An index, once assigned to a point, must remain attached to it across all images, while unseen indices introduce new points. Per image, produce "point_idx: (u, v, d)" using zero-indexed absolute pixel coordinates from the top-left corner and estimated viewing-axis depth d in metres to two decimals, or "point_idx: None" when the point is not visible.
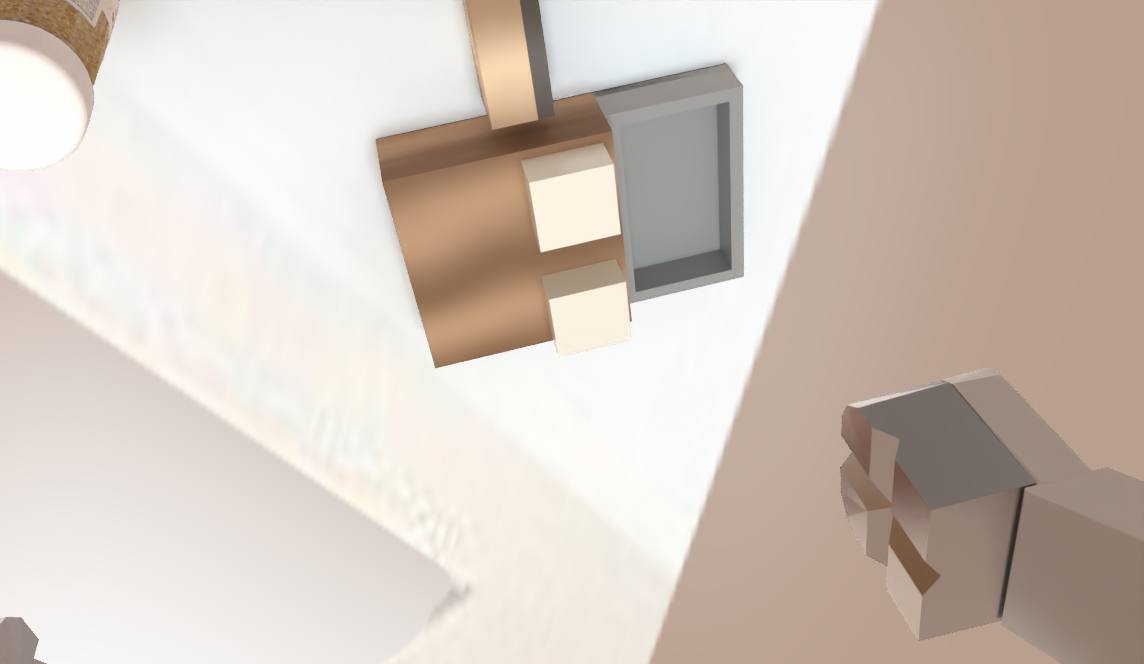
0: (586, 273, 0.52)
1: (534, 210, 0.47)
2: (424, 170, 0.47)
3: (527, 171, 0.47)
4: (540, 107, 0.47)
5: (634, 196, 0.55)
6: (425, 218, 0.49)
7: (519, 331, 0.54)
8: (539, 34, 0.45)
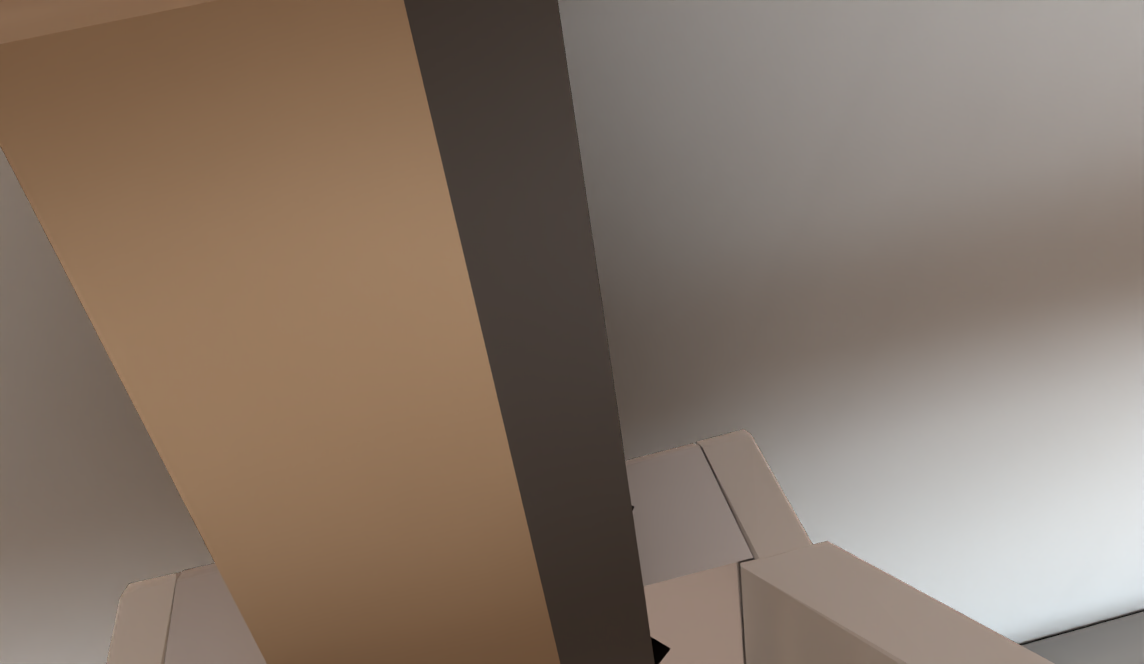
0: None
1: None
2: None
3: None
4: None
5: None
6: None
7: None
8: None
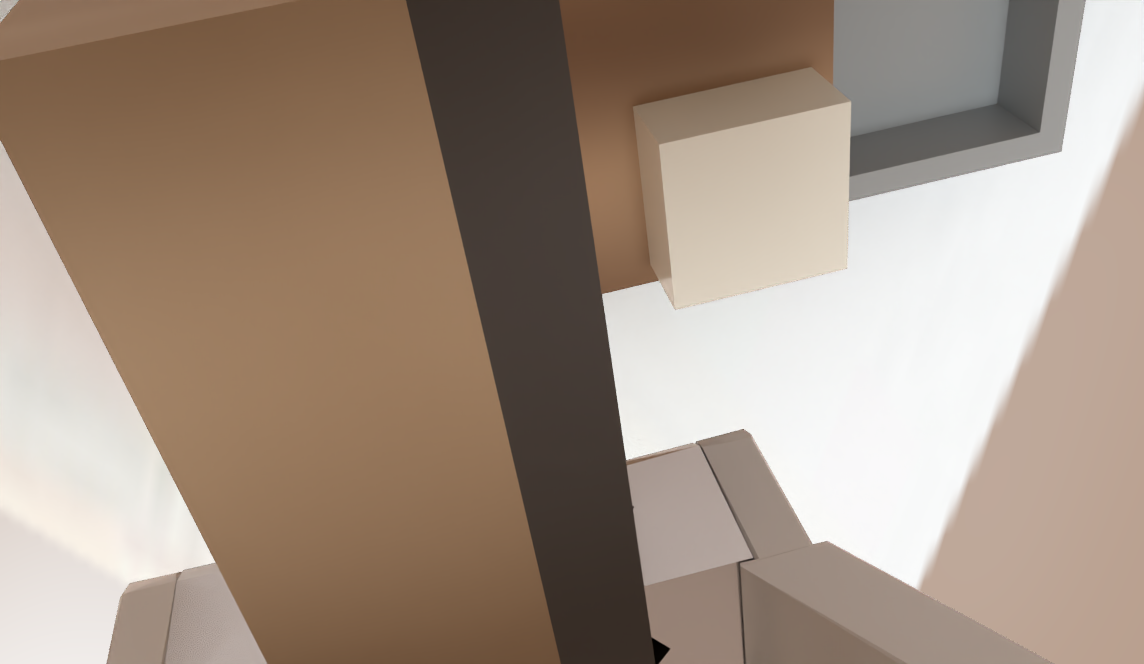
0: (745, 94, 0.21)
1: None
2: None
3: None
4: None
5: None
6: None
7: None
8: None
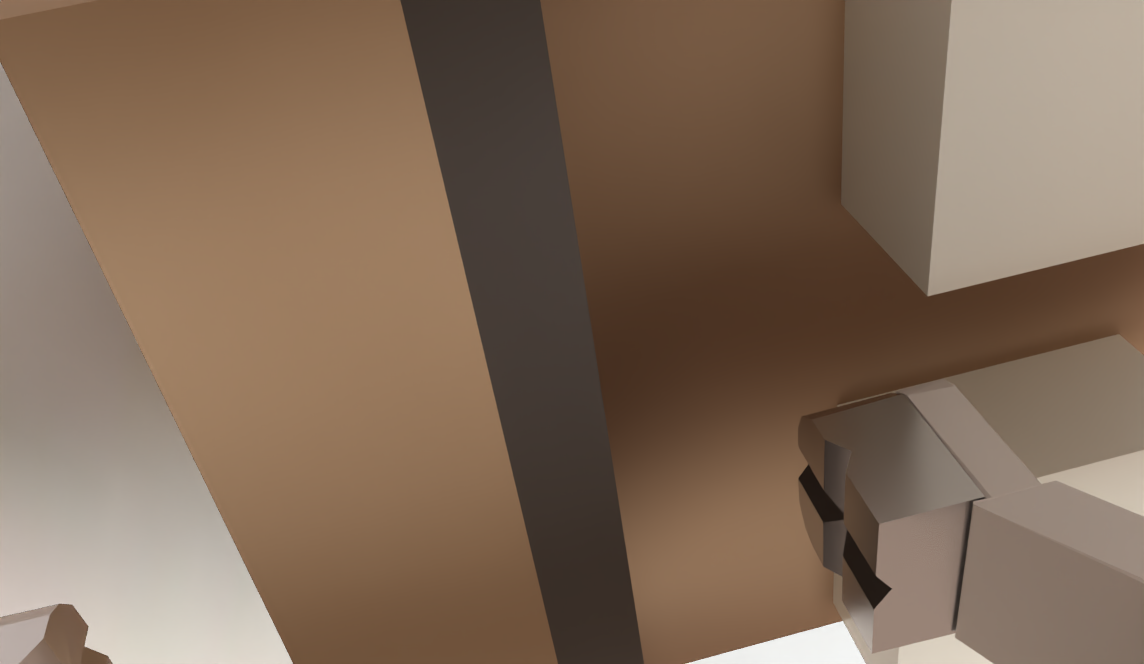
0: (1027, 394, 0.13)
1: (950, 53, 0.08)
2: None
3: None
4: None
5: None
6: None
7: (727, 602, 0.15)
8: None
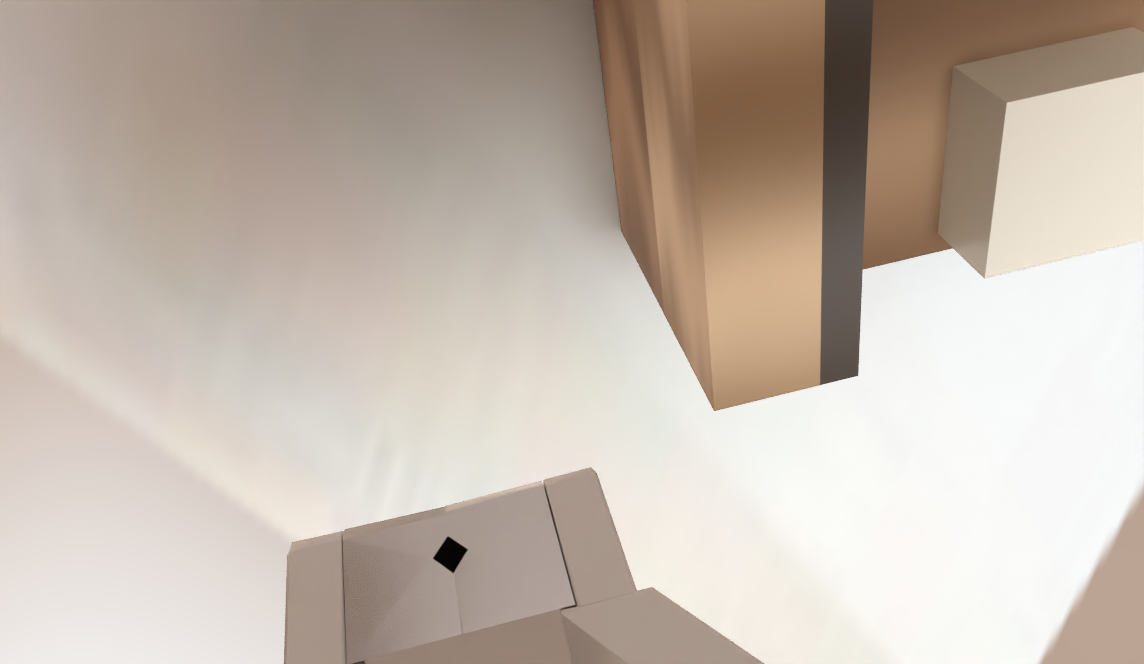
0: (1075, 54, 0.20)
1: None
2: None
3: None
4: (829, 358, 0.20)
5: None
6: None
7: (870, 224, 0.23)
8: (857, 195, 0.18)
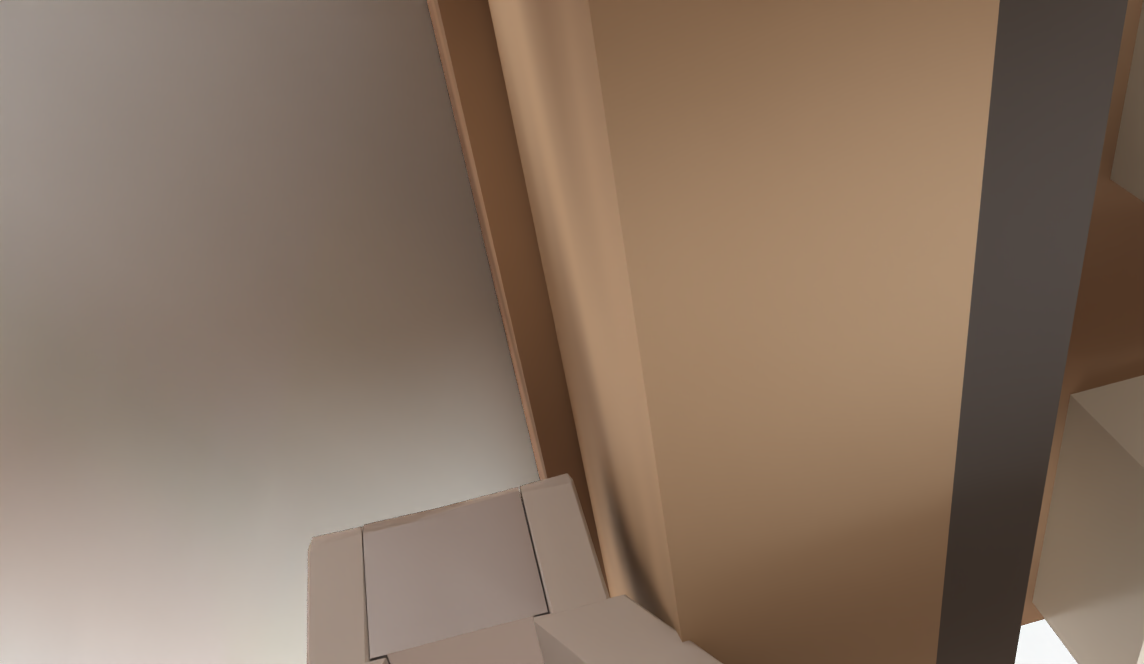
0: None
1: None
2: None
3: None
4: None
5: None
6: None
7: None
8: None
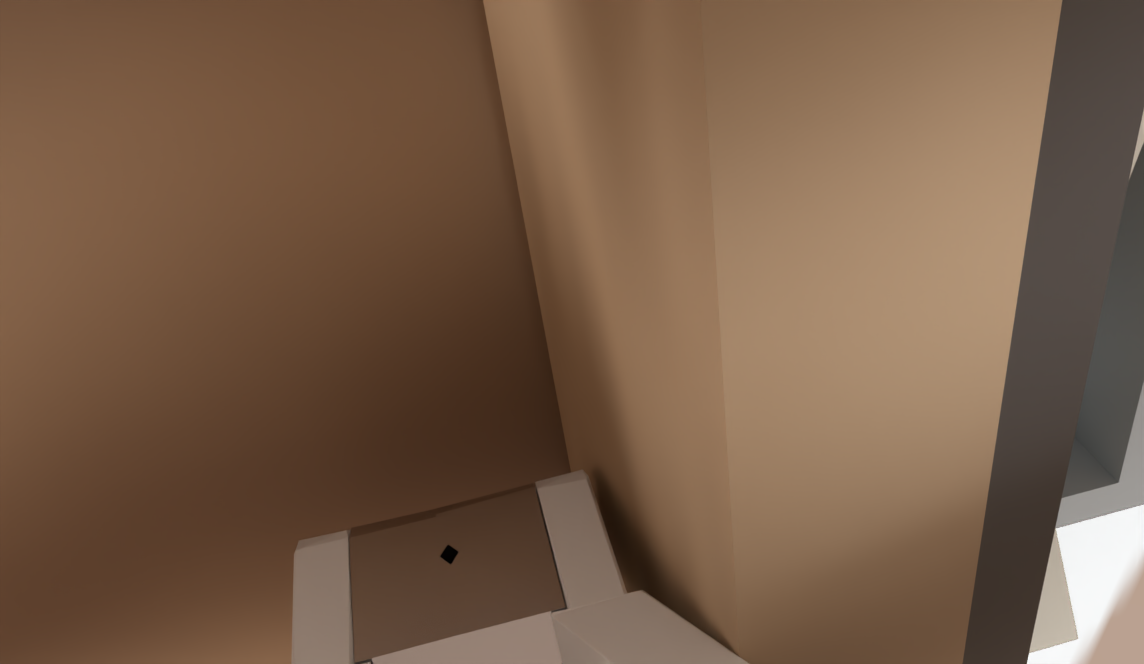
0: None
1: None
2: None
3: None
4: None
5: None
6: None
7: None
8: None
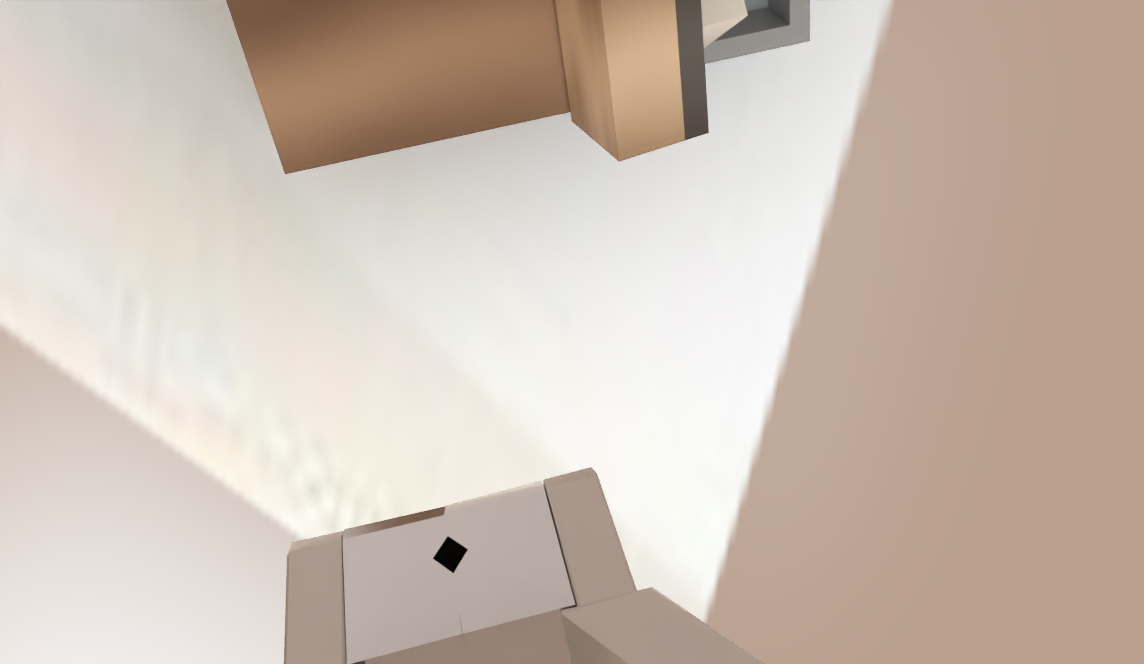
0: None
1: None
2: None
3: None
4: (689, 119, 0.30)
5: None
6: None
7: (428, 106, 0.32)
8: None
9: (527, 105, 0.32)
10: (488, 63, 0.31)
